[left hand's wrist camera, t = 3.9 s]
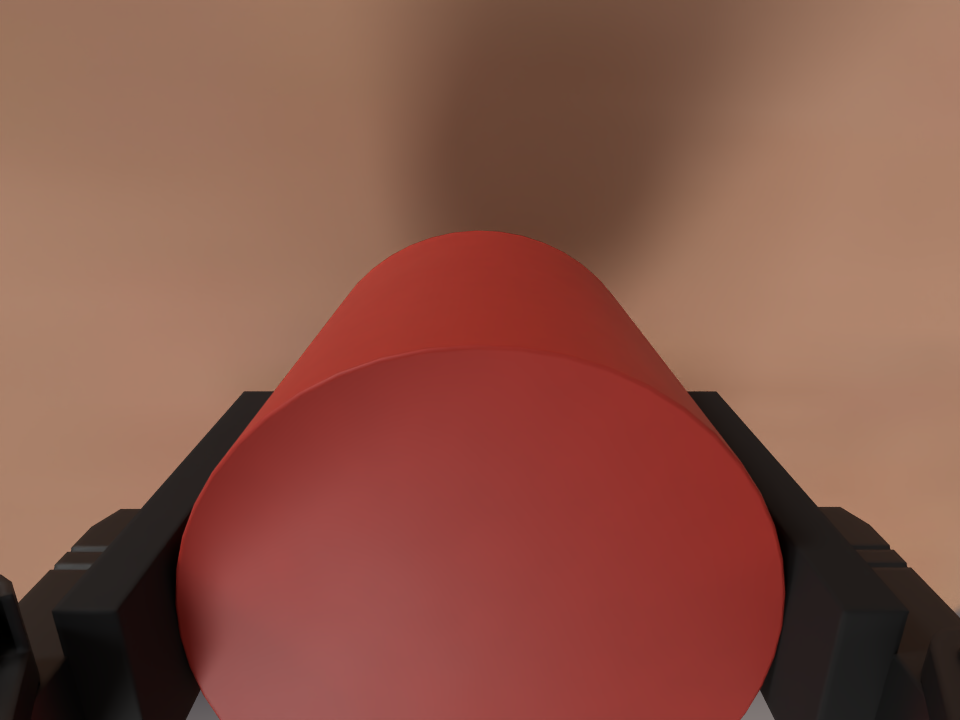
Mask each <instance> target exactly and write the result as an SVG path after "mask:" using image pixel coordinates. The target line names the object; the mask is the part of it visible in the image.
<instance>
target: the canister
mask: <svg viewBox="0 0 960 720" xmlns="http://www.w3.org/2000/svg"><path fill="white" fill-rule="evenodd" d="M784 603H785V581H784V567H783V557H782V553H781V549H780V545H779V540H778V536H777V532H776V528H775V525H774V522H773V520H772V518H771V515H770V513H769V511H768V508H767V506H766V504H765V501H764V499H763V497H762V494H761V492H760V491H759V489H758V488H757V486H756V484H755V483H754V481H753V480H752V478H751V477H750V475H749V473H748V472H747V470H746V469H745V467H744V466H743V464H742V462H741V461H740V460H739V458H738V457H737V456H736V455H735V453H734V452H733V451H732V449H731V448H730V447H729V445H728V444H727V443H726V442H725V440H724V439H723V438H722V436H721V435H720V434H719V432H718V431H717V430H716V429H715V427H714V426H713V425H712V423H711V422H710V421H709V420H708V418H707V417H706V416H705V414H704V413H703V412H702V410H701V409H700V408H699V407H698V405H697V404H696V403H695V401H694V400H693V399H692V397H691V396H690V395H689V394H688V392H687V391H686V390H685V388H684V387H683V386H682V385H681V383H680V382H679V381H678V379H677V378H676V377H675V375H674V374H673V373H672V372H671V370H670V369H669V368H668V366H667V365H666V364H665V362H664V361H663V360H662V359H661V357H660V356H659V355H658V353H657V352H656V351H655V350H654V348H653V347H652V346H651V344H650V343H649V342H648V340H647V339H646V338H645V337H644V335H643V334H642V333H641V331H640V330H639V329H638V327H637V326H636V325H635V324H634V322H633V321H632V320H631V318H630V317H629V316H628V314H627V313H626V312H625V311H624V309H623V308H622V307H621V305H620V304H619V303H618V302H617V300H616V299H615V298H614V296H613V295H612V294H611V293H610V292H609V290H608V289H607V288H606V287H605V286H604V285H603V283H602V282H601V281H600V280H599V279H598V278H597V277H596V276H595V275H594V274H593V273H591V272H590V271H589V270H588V269H587V268H586V267H584V266H583V265H582V264H581V263H579V262H578V261H576V260H575V259H573V258H572V257H570V256H569V255H567V254H565V253H564V252H562V251H560V250H558V249H556V248H554V247H552V246H549V245H547V244H545V243H543V242H540V241H537V240H534V239H531V238H527V237H524V236H521V235H515V234H510V233H504V232H496V231H467V232H455V233H450V234H445V235H441V236H436V237H432V238H429V239H426V240H424V241H421V242H418V243H415V244H413V245H410V246H408V247H406V248H405V249H403V250H401V251H399V252H397V253H395V254H393V255H391V256H390V257H388V258H387V259H386V260H384V261H383V262H381V263H380V264H379V265H377V266H376V267H374V268H373V269H372V270H371V271H370V272H369V273H368V274H367V275H366V276H365V277H364V278H363V279H362V280H360V281H359V282H358V283H357V285H356V286H355V287H354V288H353V290H352V291H351V292H350V293H349V295H348V296H347V297H346V299H345V300H344V301H343V302H342V304H341V305H340V306H339V308H338V309H337V310H336V311H335V313H334V314H333V315H332V317H331V318H330V319H329V321H328V322H327V323H326V324H325V326H324V327H323V328H322V330H321V331H320V332H319V334H318V335H317V336H316V338H315V339H314V340H313V341H312V343H311V344H310V345H309V347H308V348H307V349H306V351H305V352H304V353H303V354H302V356H301V357H300V358H299V360H298V361H297V362H296V364H295V365H294V366H293V367H292V369H291V370H290V371H289V373H288V374H287V375H286V377H285V378H284V379H283V380H282V382H281V383H280V384H279V386H278V387H277V388H276V390H275V391H274V392H273V393H272V395H271V396H270V397H269V399H268V400H267V401H266V403H265V404H264V405H263V406H262V408H261V409H260V410H259V412H258V413H257V414H256V416H255V417H254V418H253V419H252V421H251V422H250V423H249V425H248V426H247V427H246V429H245V430H244V431H243V432H242V434H241V435H240V436H239V438H238V439H237V440H236V442H235V443H234V444H233V446H232V447H231V448H230V449H229V451H228V452H227V453H226V455H225V456H224V457H223V459H222V460H221V461H220V462H219V464H218V465H217V466H216V468H215V469H214V470H213V472H212V473H211V475H210V477H209V478H208V480H207V482H206V484H205V486H204V487H203V489H202V491H201V493H200V494H199V496H198V498H197V500H196V502H195V503H194V506H193V509H192V511H191V514H190V517H189V520H188V522H187V525H186V528H185V530H184V533H183V536H182V541H181V546H180V552H179V557H178V562H177V568H176V611H177V618H178V625H179V632H180V637H181V640H182V644H183V647H184V650H185V653H186V657H187V660H188V663H189V666H190V668H191V670H192V672H193V675H194V677H195V679H196V681H197V683H198V685H199V687H200V689H201V691H202V693H203V695H204V697H205V698H206V700H207V701H208V703H209V704H210V706H211V707H212V709H213V710H214V712H215V713H216V715H217V716H218V718H219V719H220V720H740V719H741V718H742V717H743V716H744V714H745V713H746V711H747V710H748V708H749V707H750V705H751V703H752V702H753V700H754V698H755V697H756V695H757V693H758V692H759V690H760V689H761V687H762V685H763V683H764V680H765V678H766V676H767V673H768V671H769V668H770V666H771V664H772V661H773V659H774V657H775V653H776V649H777V645H778V641H779V637H780V633H781V629H782V625H783V614H784Z"/></svg>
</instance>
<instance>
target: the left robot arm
mask: <svg viewBox="0 0 960 720" xmlns="http://www.w3.org/2000/svg"><path fill="white" fill-rule="evenodd" d="M273 392H274V391H244V392H243V393H242V395H241V396H240V397H239V398H238V399H237V400H236V401H235V403H234V404H233V405H232V406H231V407H230V408H229V409H228V411H227V412H226V413H225V414H224V415H223V416H222V417H221V418H220V420H219V421H218V422H217V423H216V424H215V425H214V426H213V428H212V429H211V430H210V431H209V432H208V433H207V434H206V436H205V437H204V438H203V439H202V440H201V441H200V442H199V443H198V445H197V446H196V447H195V448H194V449H193V450H192V451H191V453H190V454H189V455H188V456H187V457H186V458H185V459H184V461H183V462H182V463H181V464H180V465H179V466H178V467H177V469H176V470H175V471H174V472H173V473H172V474H171V475H170V476H169V478H168V479H167V480H166V481H165V482H164V483H163V484H162V486H161V487H160V488H159V489H158V490H157V491H156V492H155V494H154V495H153V496H152V497H151V498H150V499H149V500H148V502H147V503H146V504H145V505H144V506H143V507H142V508H141V509H120V510H118V511H117V512H115V513H114V514H112V515H110V516H109V517H107V518H105V519H104V520H102V521H100V522H99V523H97V524H95V525H94V526H92V527H91V528H90V529H89V530H88V531H87V532H86V533H85V534H84V535H83V536H82V537H81V538H80V539H79V540H78V541H77V542H76V543H75V545H74V546H73V547H72V548H71V552H67V553H66V554H65V555H64V556H63V557H62V558H61V559H60V560H59V561H58V562H57V563H56V564H55V567H54V570H49V572H48V573H47V574H46V575H45V576H44V577H43V578H42V579H41V580H40V581H39V582H38V583H37V584H36V585H35V586H34V587H33V588H32V589H31V590H30V591H29V592H28V593H27V594H26V595H25V596H24V597H23V599H22V600H21V601H20V602H19V603H18V601H17V598H16V595H15V591H14V588H13V585H12V582H11V581H9V580H8V579H7V578H5V577H4V576H2V575H0V720H186V718H187V716H188V714H189V712H190V710H191V708H192V706H193V704H194V702H195V700H196V698H197V696H198V694H199V692H200V690H201V689H200V687H199V685H198V683H197V681H196V679H195V677H194V675H193V672H192V670H191V668H190V666H189V663H188V660H187V657H186V653H185V650H184V647H183V644H182V640H181V637H180V632H179V625H178V618H177V611H176V568H177V562H178V557H179V552H180V546H181V541H182V536H183V533H184V530H185V528H186V525H187V522H188V520H189V517H190V514H191V511H192V509H193V506H194V503H195V502H196V500H197V498H198V496H199V494H200V493H201V491H202V489H203V487H204V486H205V484H206V482H207V480H208V478H209V477H210V475H211V473H212V472H213V470H214V469H215V468H216V466H217V465H218V464H219V462H220V461H221V460H222V459H223V457H224V456H225V455H226V453H227V452H228V451H229V449H230V448H231V447H232V446H233V444H234V443H235V442H236V440H237V439H238V438H239V436H240V435H241V434H242V432H243V431H244V430H245V429H246V427H247V426H248V425H249V423H250V422H251V421H252V419H253V418H254V417H255V416H256V414H257V413H258V412H259V410H260V409H261V408H262V406H263V405H264V404H265V403H266V401H267V400H268V399H269V397H270V396H271V395H272V393H273ZM688 394H689V395H690V396H691V397H692V399H693V400H694V401H695V403H696V404H697V405H698V407H699V408H700V409H701V410H702V412H703V413H704V414H705V416H706V417H707V418H708V420H709V421H710V422H711V423H712V425H713V426H714V427H715V429H716V430H717V431H718V432H719V434H720V435H721V436H722V438H723V439H724V440H725V442H726V443H727V444H728V445H729V447H730V448H731V449H732V451H733V452H734V453H735V455H736V456H737V457H738V458H739V460H740V461H741V462H742V464H743V466H744V467H745V469H746V470H747V472H748V473H749V475H750V477H751V478H752V480H753V481H754V483H755V484H756V486H757V488H758V489H759V491H760V492H761V494H762V497H763V499H764V501H765V504H766V506H767V508H768V511H769V513H770V515H771V518H772V520H773V522H774V525H775V528H776V532H777V536H778V540H779V545H780V549H781V553H782V557H783V567H784V581H785V603H784V614H783V625H782V629H781V633H780V637H779V641H778V645H777V649H776V653H775V657H774V659H773V661H772V664H771V666H770V668H769V671H768V673H767V676H766V678H765V680H764V683H763V685H762V687H761V689H760V691H761V693H762V695H763V697H764V699H765V701H766V703H767V705H768V707H769V709H770V711H771V713H772V715H773V717H774V719H775V720H960V618H959V617H958V615H957V614H956V613H955V612H954V611H953V610H952V609H951V608H950V607H949V606H948V605H947V604H946V603H945V602H944V601H943V600H942V599H941V598H940V597H939V596H938V595H937V594H936V593H935V592H934V591H933V590H932V589H931V588H930V587H929V586H928V585H927V583H926V582H925V581H924V580H923V579H922V578H921V577H920V576H919V575H918V574H917V573H916V572H915V571H914V570H913V569H912V568H908V567H907V563H906V562H905V561H904V560H903V559H902V558H901V557H900V556H899V555H898V554H897V553H896V552H895V550H890V545H889V544H888V543H887V542H886V541H885V540H884V539H883V538H882V537H881V536H880V535H879V534H878V533H877V532H876V531H875V530H874V529H873V528H872V527H871V526H870V525H869V524H867V523H866V522H864V521H862V520H861V519H859V518H858V517H856V516H854V515H853V514H851V513H849V512H848V511H846V510H844V509H843V508H841V507H817V506H816V504H815V503H814V502H813V501H812V500H811V499H810V498H809V496H808V495H807V494H806V493H805V492H804V491H803V490H802V488H801V487H800V486H799V485H798V484H797V483H796V482H795V481H794V479H793V478H792V477H791V476H790V475H789V474H788V473H787V471H786V470H785V469H784V468H783V467H782V466H781V465H780V463H779V462H778V461H777V460H776V459H775V458H774V457H773V455H772V454H771V453H770V452H769V451H768V450H767V449H766V448H765V446H764V445H763V444H762V443H761V442H760V441H759V440H758V438H757V437H756V436H755V435H754V434H753V433H752V432H751V430H750V429H749V428H748V427H747V426H746V425H745V424H744V422H743V421H742V420H741V419H740V418H739V417H738V416H737V415H736V413H735V412H734V411H733V410H732V409H731V408H730V407H729V405H728V404H727V403H726V402H725V401H724V400H723V399H722V397H721V396H720V395H719V394H718V393H717V392H688Z"/></svg>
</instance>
